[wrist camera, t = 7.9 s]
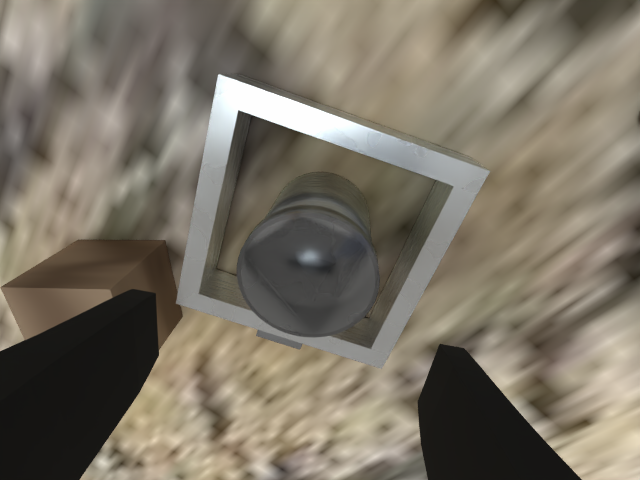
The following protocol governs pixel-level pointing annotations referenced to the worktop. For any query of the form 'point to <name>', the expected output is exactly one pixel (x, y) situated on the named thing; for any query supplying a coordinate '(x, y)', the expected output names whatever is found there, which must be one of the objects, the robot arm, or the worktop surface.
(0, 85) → the worktop surface
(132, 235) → the worktop surface
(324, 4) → the worktop surface
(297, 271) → the grooved metal cylinder
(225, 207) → the frame
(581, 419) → the worktop surface
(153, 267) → the walnut block
